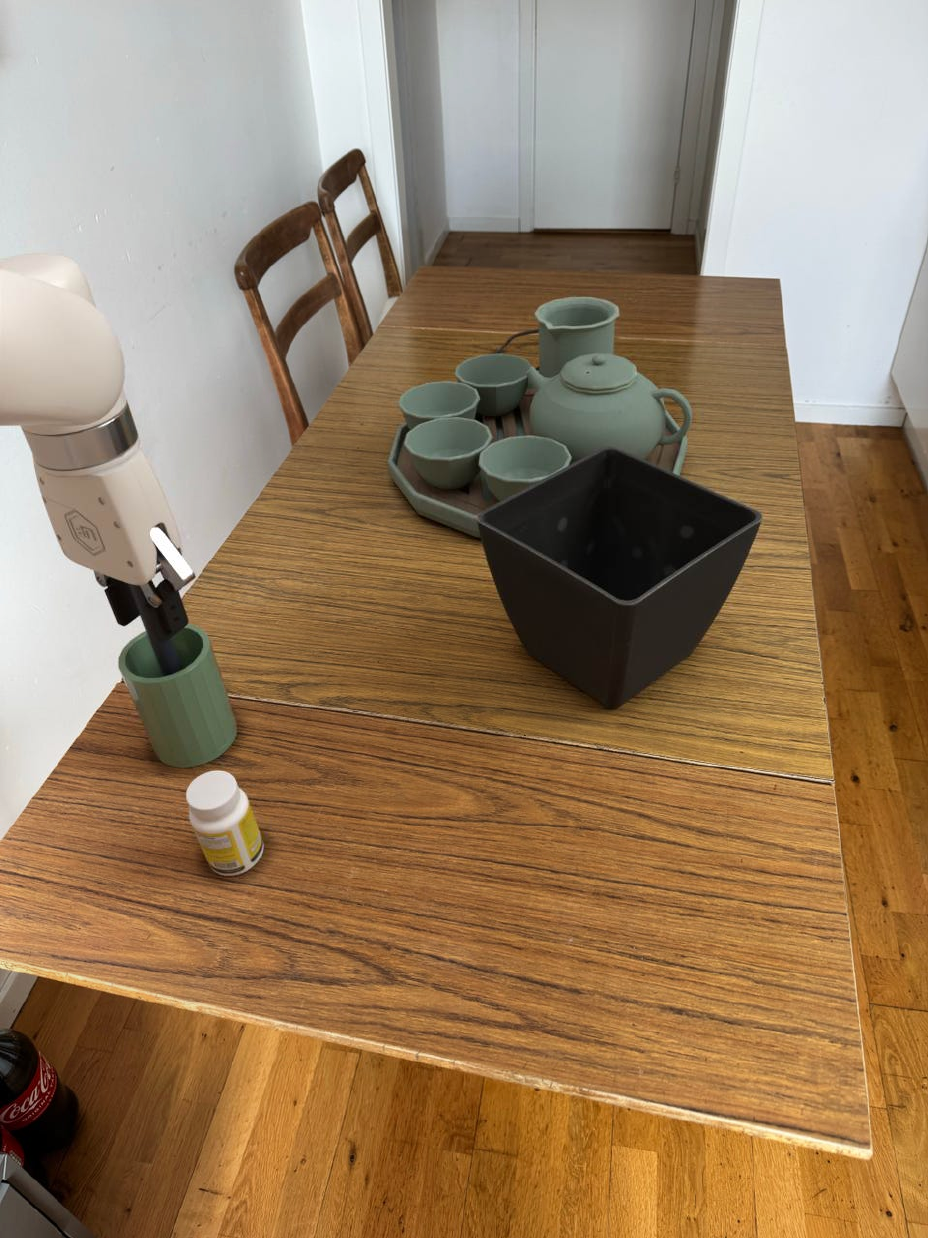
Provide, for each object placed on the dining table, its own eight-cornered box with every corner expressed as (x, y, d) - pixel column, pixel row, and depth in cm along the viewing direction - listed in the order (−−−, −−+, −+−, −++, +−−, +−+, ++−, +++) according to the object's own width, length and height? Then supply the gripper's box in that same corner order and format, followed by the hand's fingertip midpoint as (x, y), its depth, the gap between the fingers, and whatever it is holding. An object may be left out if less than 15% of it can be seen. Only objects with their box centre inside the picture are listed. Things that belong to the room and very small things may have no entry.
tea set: (393, 411, 138) (380, 305, 127) (652, 390, 137) (660, 282, 127) (387, 560, 107) (368, 436, 96) (720, 534, 106) (737, 407, 96)
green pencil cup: (227, 766, 83) (196, 680, 76) (143, 769, 83) (105, 684, 76) (245, 705, 89) (218, 621, 82) (167, 708, 90) (134, 624, 83)
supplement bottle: (247, 821, 78) (224, 756, 72) (274, 855, 75) (253, 789, 70) (197, 852, 76) (170, 788, 70) (223, 888, 73) (197, 823, 67)
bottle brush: (209, 744, 84) (151, 584, 72) (168, 746, 84) (103, 586, 72) (219, 714, 87) (165, 555, 75) (179, 715, 88) (119, 558, 76)
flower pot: (744, 651, 90) (769, 510, 80) (620, 749, 81) (629, 605, 71) (603, 574, 102) (608, 442, 91) (481, 652, 93) (470, 516, 82)
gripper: (-31, 434, 67) (56, 622, 79) (122, 482, 60) (192, 681, 71) (50, 394, 72) (121, 576, 83) (200, 434, 65) (255, 627, 76)
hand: (153, 622), depth 77 cm, fingers open, 4 cm apart
